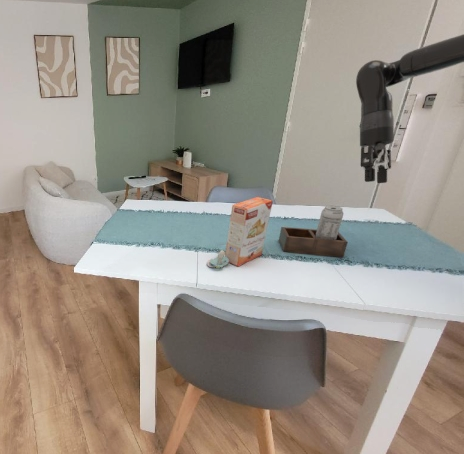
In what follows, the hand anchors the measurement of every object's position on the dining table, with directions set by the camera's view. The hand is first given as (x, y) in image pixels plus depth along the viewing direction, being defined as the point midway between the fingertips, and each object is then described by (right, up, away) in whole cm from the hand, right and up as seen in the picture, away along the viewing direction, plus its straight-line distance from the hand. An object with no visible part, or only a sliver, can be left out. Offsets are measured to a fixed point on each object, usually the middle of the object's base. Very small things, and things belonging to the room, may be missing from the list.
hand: (376, 182), depth 89 cm
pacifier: (-45, -27, +10) cm, 54 cm away
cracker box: (-34, -25, +14) cm, 45 cm away
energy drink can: (-4, -21, +16) cm, 27 cm away
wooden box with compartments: (-8, -22, +17) cm, 29 cm away
